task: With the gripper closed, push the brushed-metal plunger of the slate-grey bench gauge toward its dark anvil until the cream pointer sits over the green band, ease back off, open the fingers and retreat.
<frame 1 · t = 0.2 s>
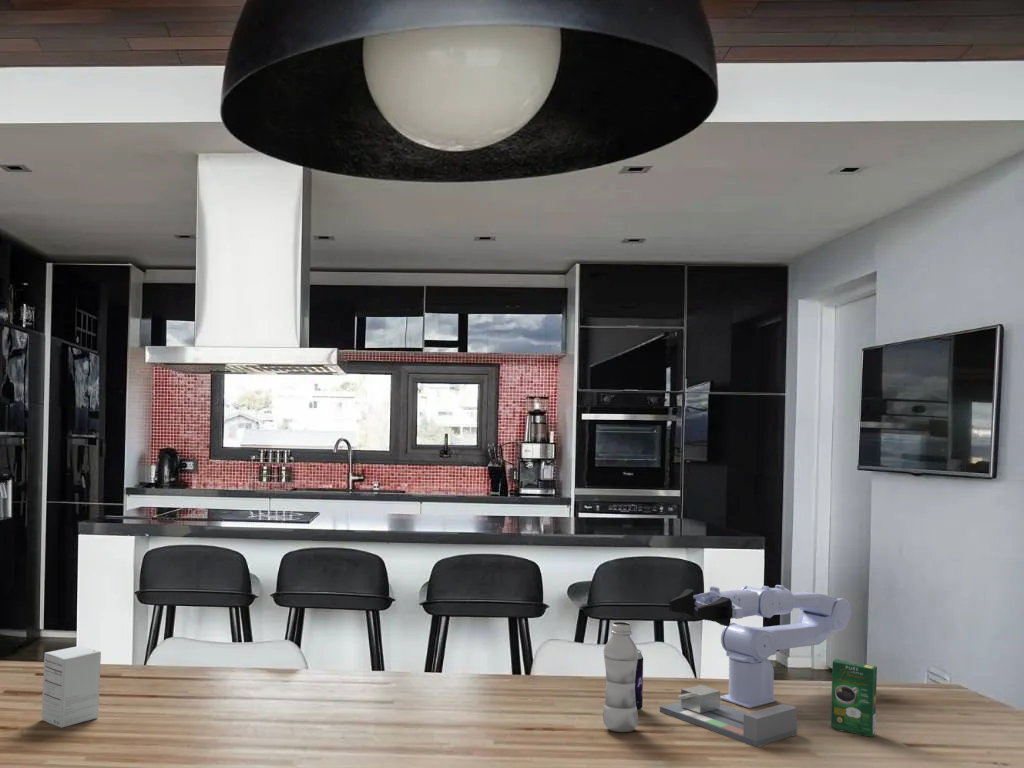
hand: (684, 609, 178), 21 cm above the table, tool horizontal, fingers open, 7 cm apart
plastic bottle: (619, 731, 167), on the table
plunger: (694, 700, 177), point 3 cm above the table, slide at 0.0 cm
supplement box: (69, 720, 166), on the table
beverage can: (628, 711, 179), on the table
gauge board: (725, 722, 173), on the table
coffee box: (853, 732, 170), on the table
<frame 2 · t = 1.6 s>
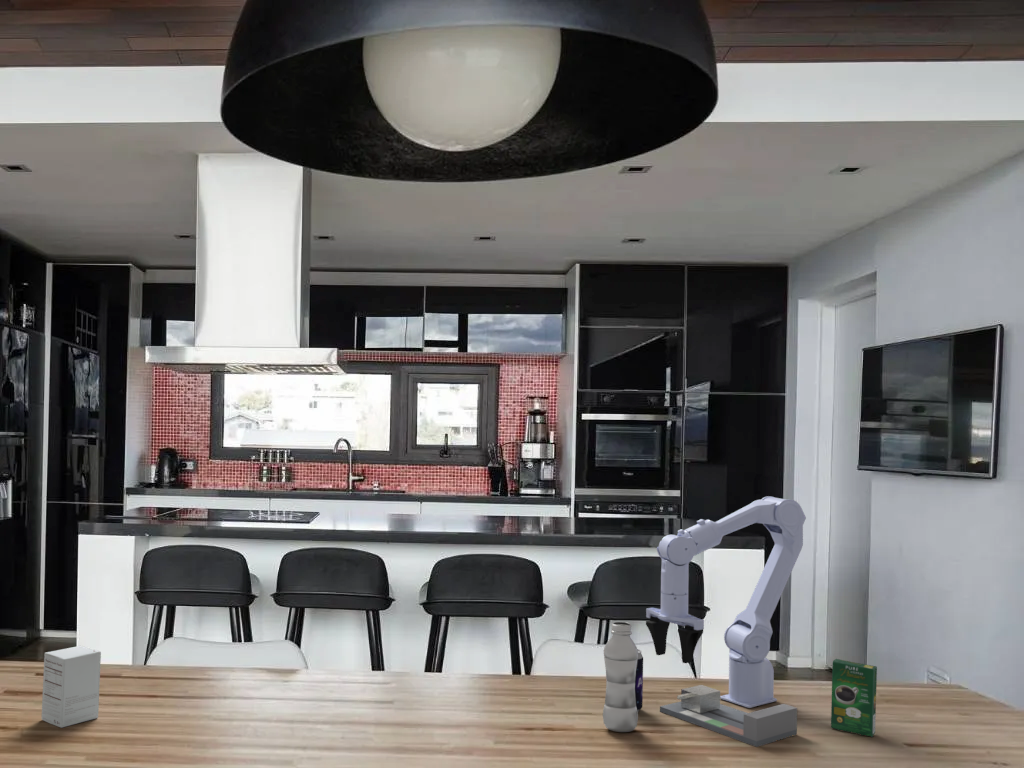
hand: (673, 658, 185), 9 cm above the table, tool pointing down, fingers open, 7 cm apart
nothing on the table moved.
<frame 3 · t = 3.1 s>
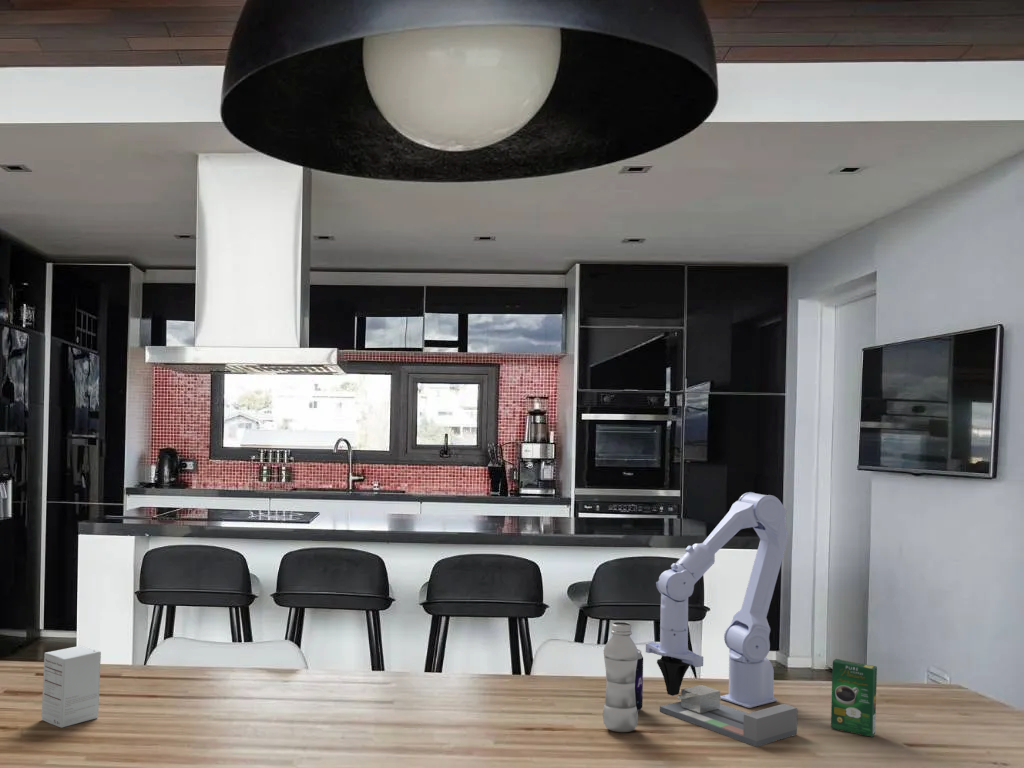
hand: (673, 694, 184), 2 cm above the table, tool pointing down, fingers closed
nothing on the table moved.
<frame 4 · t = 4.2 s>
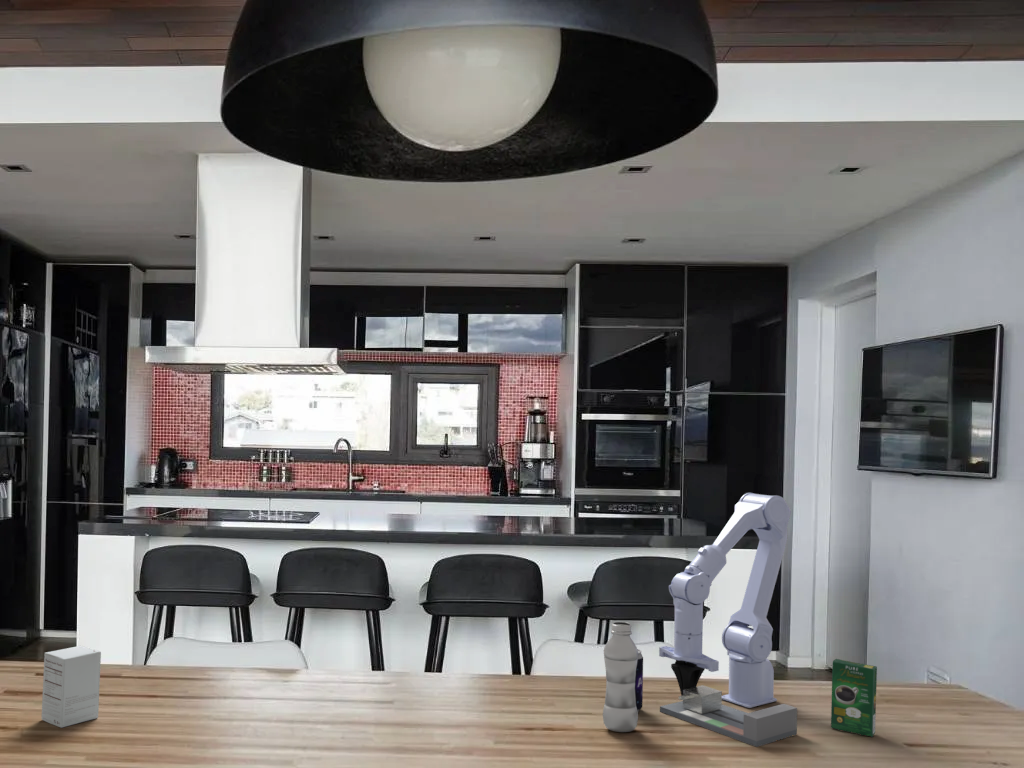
hand: (687, 699, 181), 2 cm above the table, tool pointing down, fingers closed
plunger: (696, 700, 177), point 3 cm above the table, slide at 0.4 cm, touching gripper
everything else where it was.
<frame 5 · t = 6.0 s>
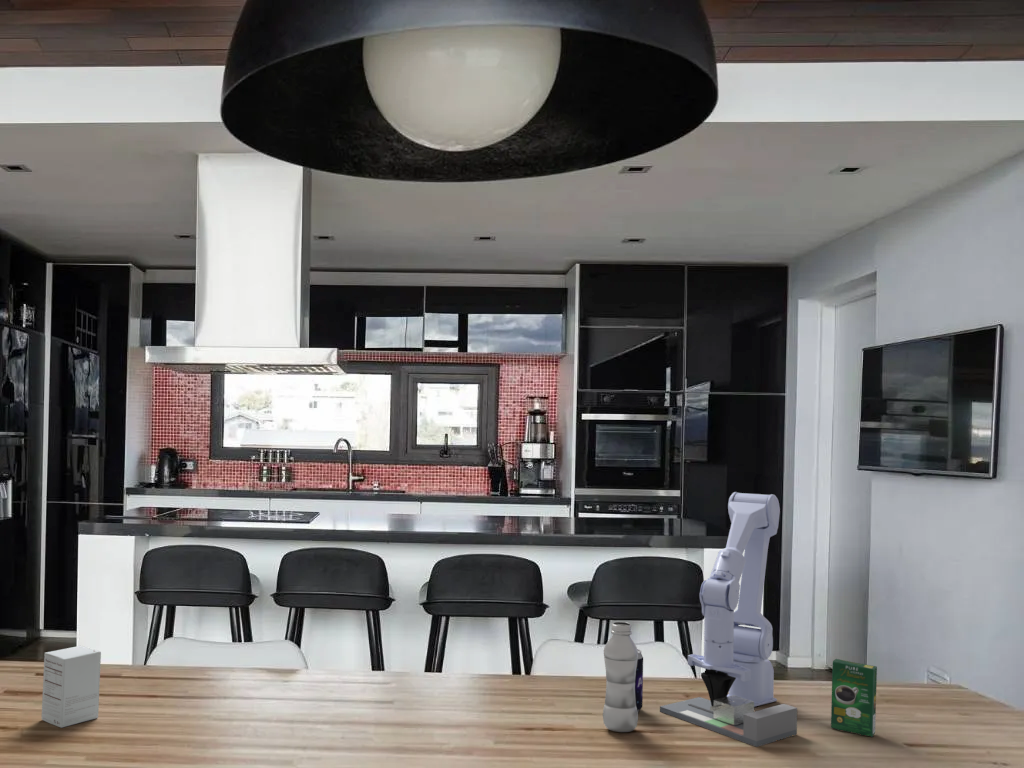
hand: (717, 709, 175), 2 cm above the table, tool pointing down, fingers closed
plunger: (727, 711, 171), point 3 cm above the table, slide at 8.4 cm, touching gripper
everything else where it was.
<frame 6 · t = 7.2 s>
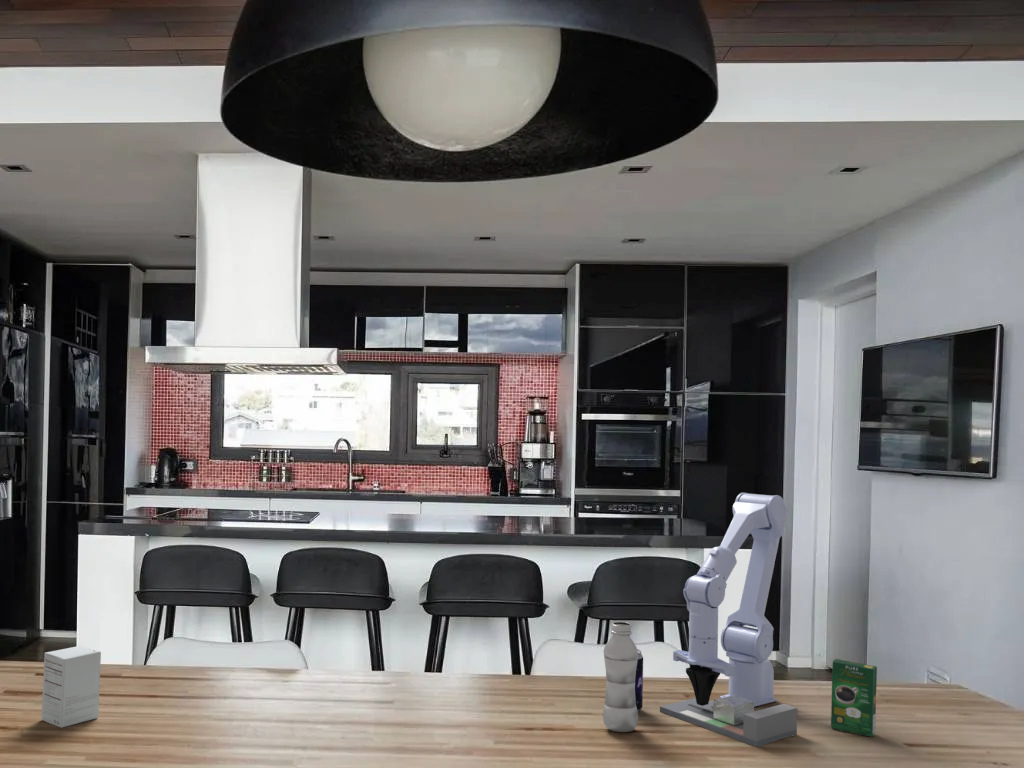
hand: (702, 704, 178), 2 cm above the table, tool pointing down, fingers closed
plunger: (727, 711, 171), point 3 cm above the table, slide at 8.4 cm
everything else where it was.
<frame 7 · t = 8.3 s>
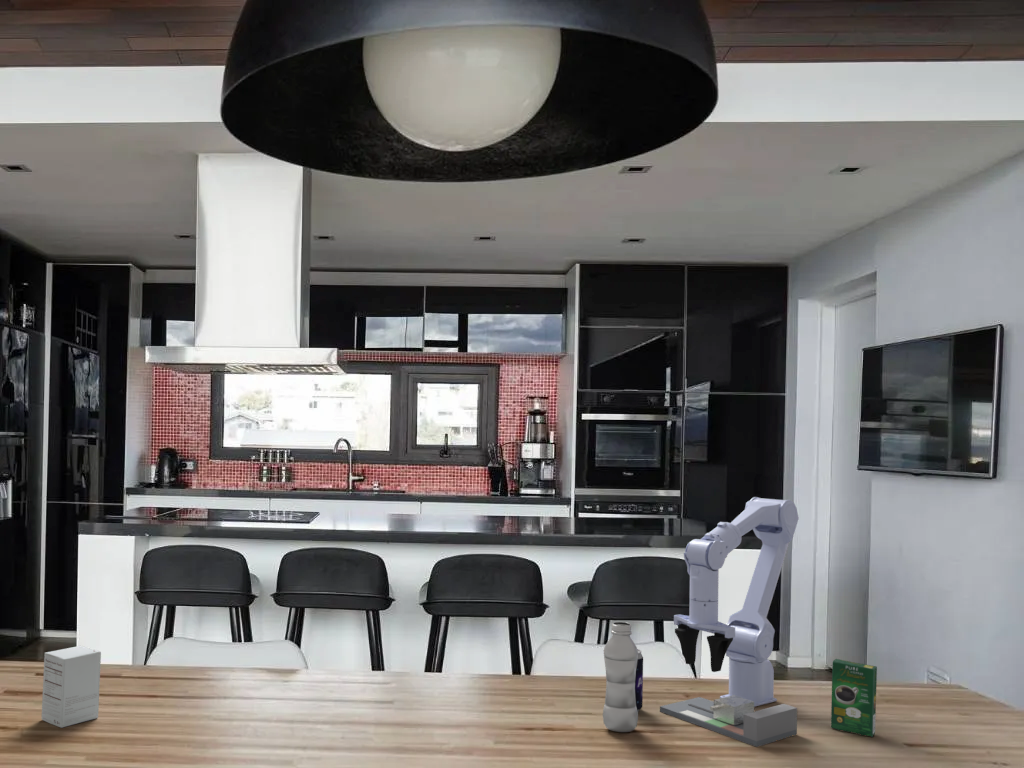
hand: (703, 667, 178), 9 cm above the table, tool pointing down, fingers open, 6 cm apart
nothing on the table moved.
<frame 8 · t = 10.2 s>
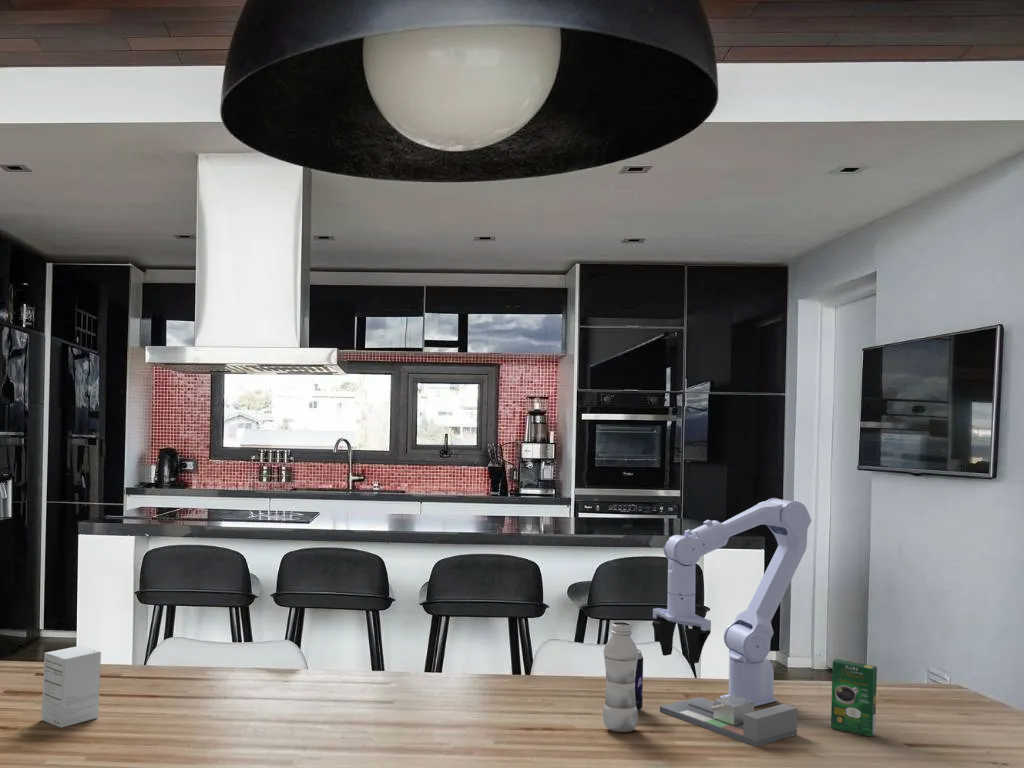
hand: (680, 658, 185), 9 cm above the table, tool pointing down, fingers open, 7 cm apart
nothing on the table moved.
at the end: plunger slide at 8.4 cm; the gripper is holding nothing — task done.
